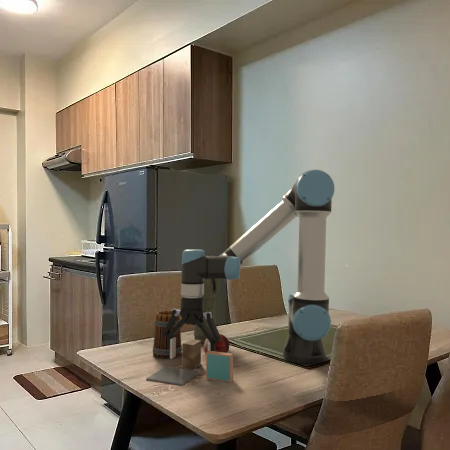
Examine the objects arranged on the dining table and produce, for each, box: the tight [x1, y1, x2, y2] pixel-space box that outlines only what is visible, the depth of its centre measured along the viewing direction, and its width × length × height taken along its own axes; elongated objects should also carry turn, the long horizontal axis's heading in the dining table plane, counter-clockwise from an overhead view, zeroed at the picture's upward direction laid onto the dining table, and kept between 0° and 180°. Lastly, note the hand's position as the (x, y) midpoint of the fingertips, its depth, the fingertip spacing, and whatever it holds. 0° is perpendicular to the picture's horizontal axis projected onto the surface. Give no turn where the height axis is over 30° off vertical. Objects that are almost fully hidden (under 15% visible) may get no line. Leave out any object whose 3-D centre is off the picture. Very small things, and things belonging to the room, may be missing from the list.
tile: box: [205, 351, 234, 383], centre depth 132 cm, size 8×2×8 cm, turn 69°
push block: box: [181, 339, 202, 370], centre depth 144 cm, size 4×6×8 cm, turn 159°
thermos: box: [193, 253, 220, 345], centre depth 175 cm, size 9×12×35 cm
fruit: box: [203, 333, 230, 355], centre depth 154 cm, size 9×10×10 cm
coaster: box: [146, 366, 200, 386], centre depth 134 cm, size 12×12×1 cm
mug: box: [152, 308, 182, 359], centre depth 159 cm, size 16×11×15 cm
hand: (191, 360), depth 144 cm, fingers open, 13 cm apart
